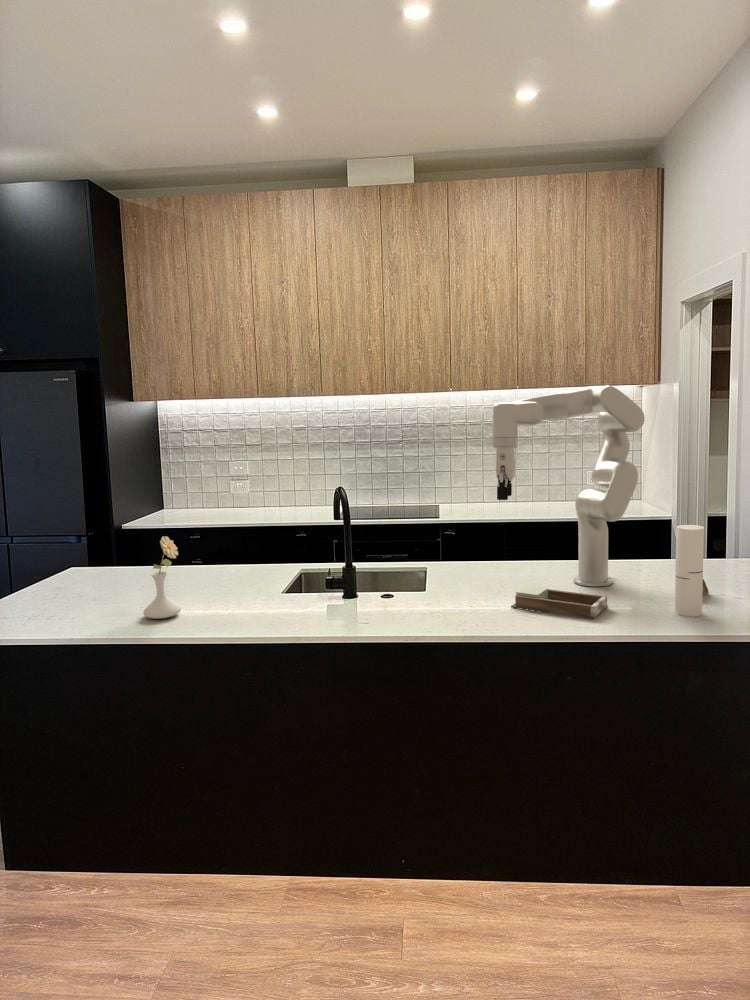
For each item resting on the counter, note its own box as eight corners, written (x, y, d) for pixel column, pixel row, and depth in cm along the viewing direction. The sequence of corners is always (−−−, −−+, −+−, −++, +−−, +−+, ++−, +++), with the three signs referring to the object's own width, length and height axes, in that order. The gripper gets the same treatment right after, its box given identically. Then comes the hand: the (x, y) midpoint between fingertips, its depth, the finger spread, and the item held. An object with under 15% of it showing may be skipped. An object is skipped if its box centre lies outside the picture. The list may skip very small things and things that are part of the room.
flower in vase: (161, 624, 217) (153, 543, 213) (135, 619, 223) (128, 540, 219) (193, 611, 228) (186, 534, 224) (168, 607, 234) (161, 532, 230)
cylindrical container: (704, 616, 202) (706, 529, 198) (677, 616, 203) (679, 529, 200) (698, 608, 209) (700, 524, 205) (672, 608, 210) (674, 524, 206)
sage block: (526, 596, 226) (526, 585, 225) (548, 599, 222) (547, 588, 221) (516, 603, 219) (515, 592, 218) (537, 606, 215) (537, 594, 214)
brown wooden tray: (528, 596, 228) (527, 585, 227) (607, 607, 214) (608, 595, 213) (511, 607, 217) (510, 596, 217) (593, 619, 203) (594, 607, 203)
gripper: (514, 444, 212) (513, 501, 214) (520, 441, 228) (519, 494, 231) (488, 444, 214) (488, 501, 216) (496, 441, 230) (496, 493, 233)
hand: (504, 497), depth 224 cm, fingers open, 9 cm apart
